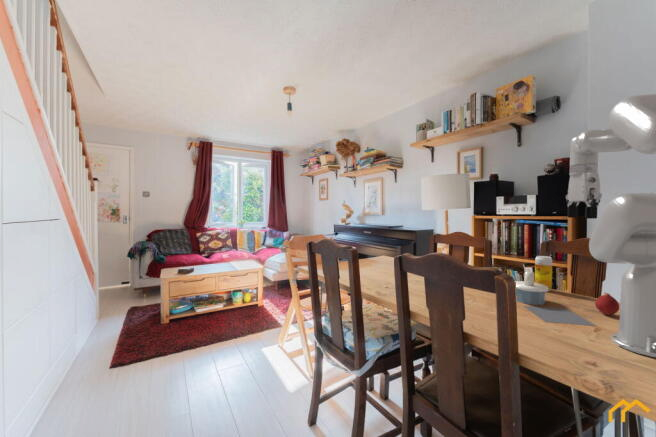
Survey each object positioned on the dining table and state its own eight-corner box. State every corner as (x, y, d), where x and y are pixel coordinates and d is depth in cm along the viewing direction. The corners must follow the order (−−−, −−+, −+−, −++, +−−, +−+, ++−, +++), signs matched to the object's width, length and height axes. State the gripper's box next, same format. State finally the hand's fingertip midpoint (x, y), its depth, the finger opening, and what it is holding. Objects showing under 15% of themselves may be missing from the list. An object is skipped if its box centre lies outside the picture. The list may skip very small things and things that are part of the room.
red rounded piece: (608, 312, 99) (609, 290, 99) (623, 319, 93) (625, 295, 93) (590, 312, 99) (591, 290, 99) (604, 318, 94) (605, 295, 93)
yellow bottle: (531, 288, 129) (532, 256, 128) (540, 287, 130) (541, 255, 130) (544, 292, 123) (546, 258, 122) (554, 291, 125) (555, 257, 124)
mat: (596, 327, 87) (596, 325, 87) (545, 323, 90) (545, 321, 90) (566, 309, 102) (566, 308, 102) (523, 306, 105) (523, 305, 105)
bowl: (550, 306, 105) (550, 292, 105) (520, 304, 107) (520, 290, 107) (536, 298, 115) (536, 284, 115) (509, 296, 117) (509, 283, 117)
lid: (555, 293, 104) (555, 276, 103) (519, 291, 106) (519, 275, 106) (538, 284, 115) (538, 269, 115) (505, 282, 118) (506, 268, 118)
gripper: (614, 166, 92) (612, 219, 93) (579, 173, 109) (577, 217, 110) (587, 167, 94) (585, 218, 94) (557, 173, 110) (555, 217, 111)
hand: (581, 217), depth 102 cm, fingers open, 9 cm apart
